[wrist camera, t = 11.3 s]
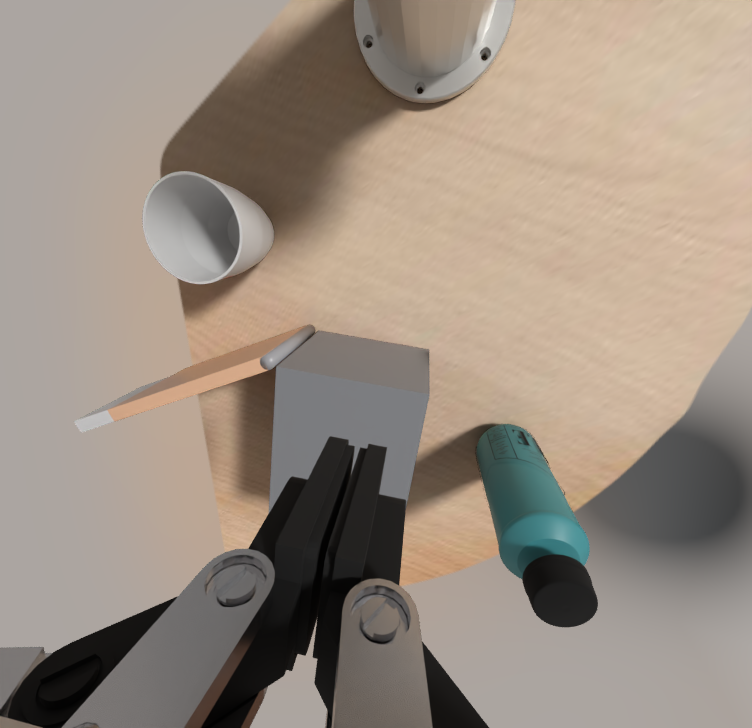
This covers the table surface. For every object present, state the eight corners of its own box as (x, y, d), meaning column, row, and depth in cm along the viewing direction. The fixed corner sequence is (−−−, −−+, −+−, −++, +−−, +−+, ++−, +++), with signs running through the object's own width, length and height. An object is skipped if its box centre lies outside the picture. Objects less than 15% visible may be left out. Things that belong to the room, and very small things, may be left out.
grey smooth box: (319, 330, 40) (276, 366, 29) (429, 349, 39) (429, 394, 28) (307, 455, 45) (268, 527, 34) (404, 475, 44) (396, 555, 33)
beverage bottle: (466, 459, 43) (496, 632, 24) (482, 408, 40) (529, 555, 22) (522, 472, 42) (598, 659, 23) (542, 421, 40) (643, 584, 21)
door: (312, 323, 39) (270, 353, 29) (317, 333, 40) (276, 367, 29) (158, 378, 44) (73, 421, 34) (163, 386, 44) (81, 432, 34)
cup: (201, 246, 39) (129, 249, 29) (230, 171, 36) (161, 148, 27) (268, 287, 39) (218, 303, 30) (302, 217, 36) (259, 209, 27)
